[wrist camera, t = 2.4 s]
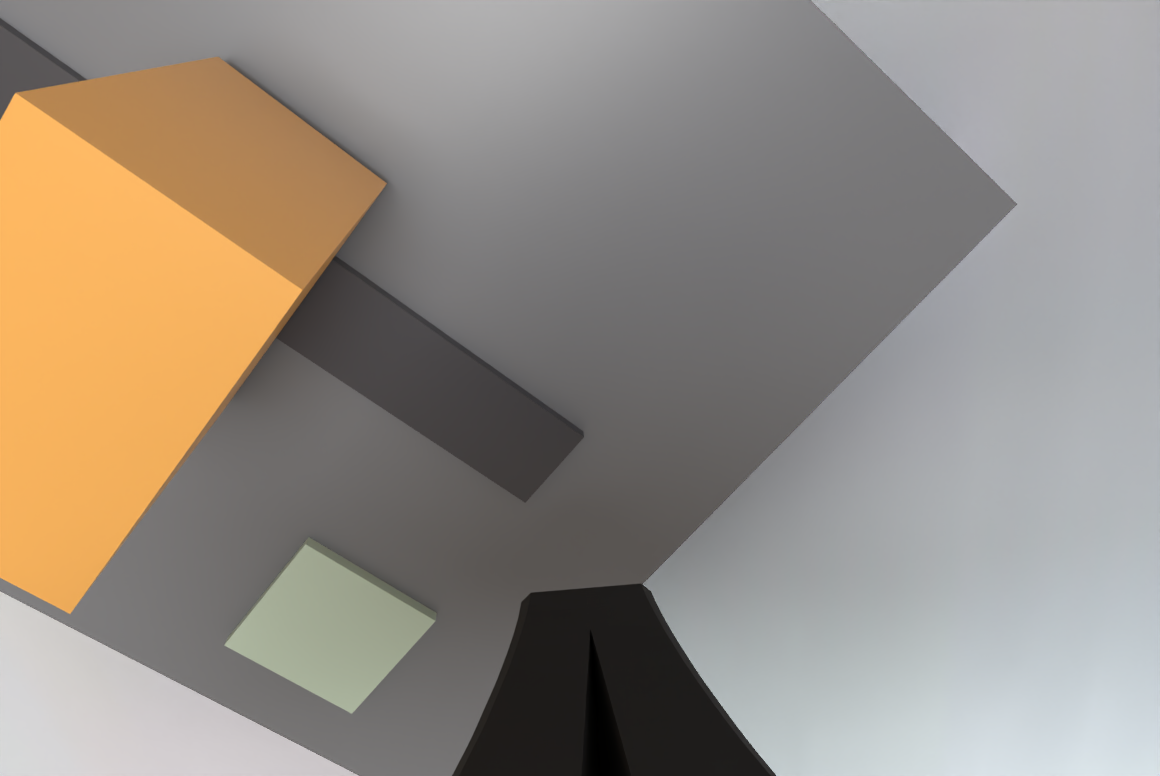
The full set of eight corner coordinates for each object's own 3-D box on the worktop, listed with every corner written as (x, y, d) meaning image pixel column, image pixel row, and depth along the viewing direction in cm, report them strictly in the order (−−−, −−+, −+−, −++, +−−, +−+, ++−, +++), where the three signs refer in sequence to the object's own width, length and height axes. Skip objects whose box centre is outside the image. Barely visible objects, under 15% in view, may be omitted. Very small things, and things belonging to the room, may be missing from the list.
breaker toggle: (386, 183, 11) (302, 290, 7) (224, 408, 12) (69, 614, 8) (217, 57, 10) (15, 92, 6) (63, 308, 12) (-196, 475, 8)
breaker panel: (939, 171, 14) (1023, 207, 12) (435, 706, 18) (420, 816, 16) (-207, -935, 9) (-484, -1285, 7) (-563, 150, 13) (-820, 185, 11)
